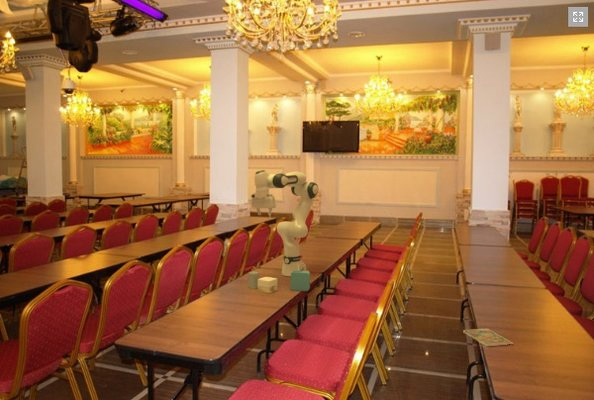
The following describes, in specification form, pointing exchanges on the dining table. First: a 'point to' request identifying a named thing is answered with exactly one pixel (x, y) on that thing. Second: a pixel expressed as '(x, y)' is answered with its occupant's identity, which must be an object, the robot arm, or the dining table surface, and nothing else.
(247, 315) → the dining table surface
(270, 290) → the tower block lower
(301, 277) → the data package
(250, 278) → the grey column
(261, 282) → the tower block upper
